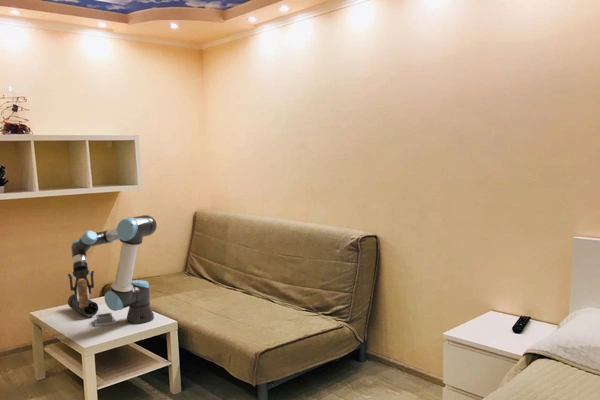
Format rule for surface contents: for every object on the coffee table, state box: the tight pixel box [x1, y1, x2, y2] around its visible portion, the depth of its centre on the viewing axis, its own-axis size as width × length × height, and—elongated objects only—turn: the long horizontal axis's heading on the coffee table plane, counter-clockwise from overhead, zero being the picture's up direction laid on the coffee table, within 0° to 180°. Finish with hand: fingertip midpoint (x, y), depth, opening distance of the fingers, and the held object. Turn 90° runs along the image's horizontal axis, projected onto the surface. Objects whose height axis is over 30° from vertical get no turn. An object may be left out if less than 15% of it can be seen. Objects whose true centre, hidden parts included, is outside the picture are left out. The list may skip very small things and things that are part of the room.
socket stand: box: [93, 312, 116, 327], centre depth 285 cm, size 11×11×4 cm
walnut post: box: [77, 279, 88, 308], centre depth 272 cm, size 4×4×14 cm
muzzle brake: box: [67, 293, 99, 319], centre depth 304 cm, size 10×28×10 cm, turn 43°
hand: (83, 299), depth 269 cm, fingers closed on walnut post, 4 cm apart
